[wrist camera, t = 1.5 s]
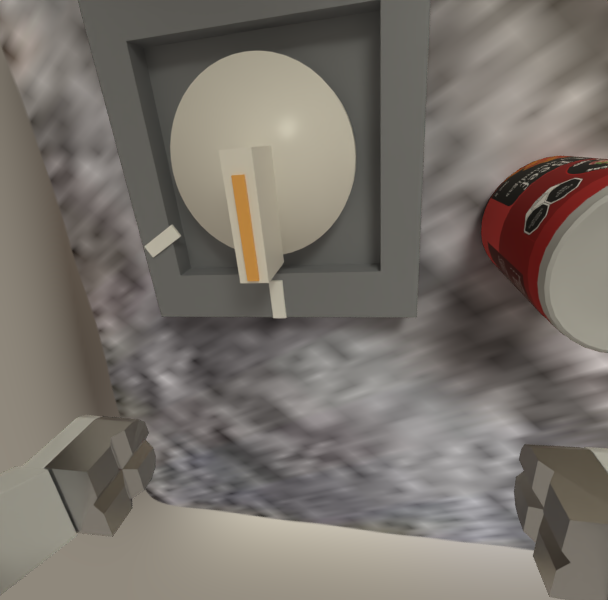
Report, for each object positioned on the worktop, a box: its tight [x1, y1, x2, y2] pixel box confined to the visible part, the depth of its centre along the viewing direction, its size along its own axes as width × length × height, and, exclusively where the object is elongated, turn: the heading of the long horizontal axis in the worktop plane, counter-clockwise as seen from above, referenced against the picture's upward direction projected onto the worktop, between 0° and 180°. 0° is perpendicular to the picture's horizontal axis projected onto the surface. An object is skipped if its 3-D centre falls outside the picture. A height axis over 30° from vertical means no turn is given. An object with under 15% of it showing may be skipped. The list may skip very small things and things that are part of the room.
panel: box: [78, 0, 430, 318], centre depth 24 cm, size 22×20×3 cm
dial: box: [170, 51, 357, 283], centre depth 22 cm, size 12×12×6 cm
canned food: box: [481, 156, 608, 353], centre depth 19 cm, size 8×8×11 cm
